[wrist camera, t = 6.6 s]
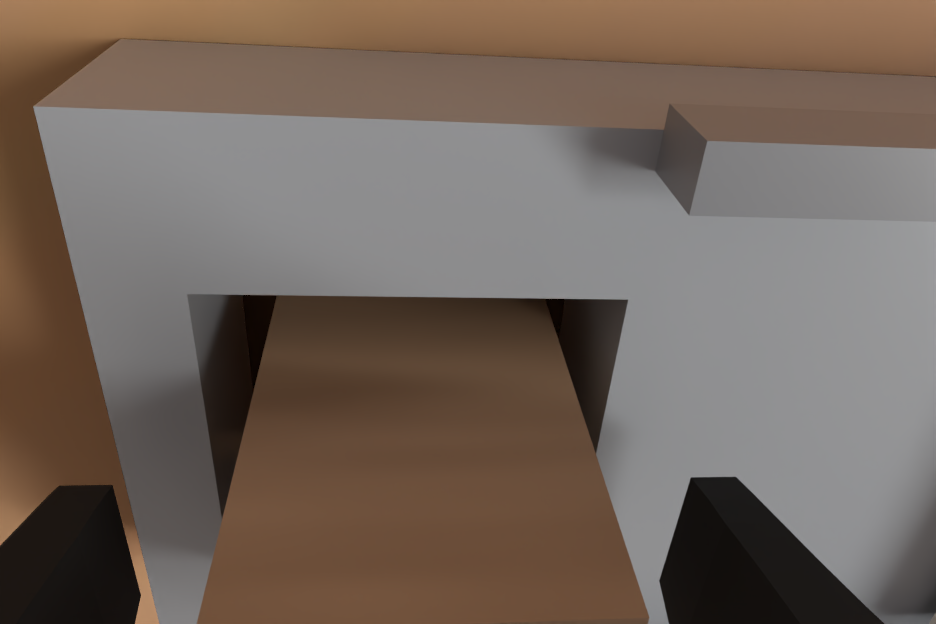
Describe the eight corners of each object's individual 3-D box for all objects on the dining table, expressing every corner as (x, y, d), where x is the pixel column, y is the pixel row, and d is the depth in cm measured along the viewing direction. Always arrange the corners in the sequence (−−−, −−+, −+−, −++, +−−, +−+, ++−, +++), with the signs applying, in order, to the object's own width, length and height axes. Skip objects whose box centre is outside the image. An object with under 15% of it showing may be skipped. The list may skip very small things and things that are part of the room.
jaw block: (507, 433, 15) (602, 931, 8) (300, 434, 14) (221, 962, 8) (530, 254, 13) (686, 728, 6) (288, 248, 12) (164, 753, 6)
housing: (919, 532, 18) (1052, 709, 14) (209, 548, 16) (156, 754, 12) (1179, 68, 12) (1512, 168, 8) (116, 15, 10) (-30, 115, 7)
